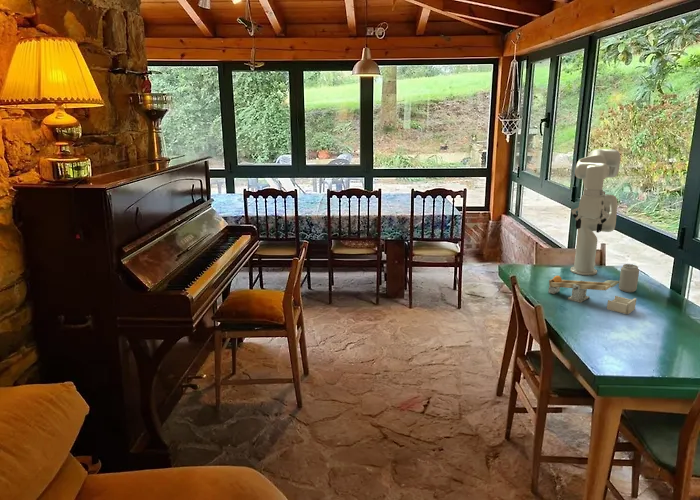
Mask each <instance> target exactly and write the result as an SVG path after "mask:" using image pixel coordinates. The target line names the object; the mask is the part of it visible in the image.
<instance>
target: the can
mask: <svg viewBox="0 0 700 500" xmlns="http://www.w3.org/2000/svg"><path fill="white" fill-rule="evenodd" d="M639 276H640V269H639V266H638V265H636V264H631V263H625V264H623V265H622V267H621V268H620V274H619V280H618V281H619V284H618V289H619V290H620V291H621V292H625V293H634V292H635V291H637V288H638V283H639Z"/></svg>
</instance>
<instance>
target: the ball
mask: <svg viewBox="0 0 700 500" xmlns="http://www.w3.org/2000/svg"><path fill="white" fill-rule="evenodd" d="M552 279H553V281H554V282H558V283H560V282H561V281H562V280H563V279H562V277H561V275H555V276H554V277H553V278H552Z"/></svg>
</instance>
